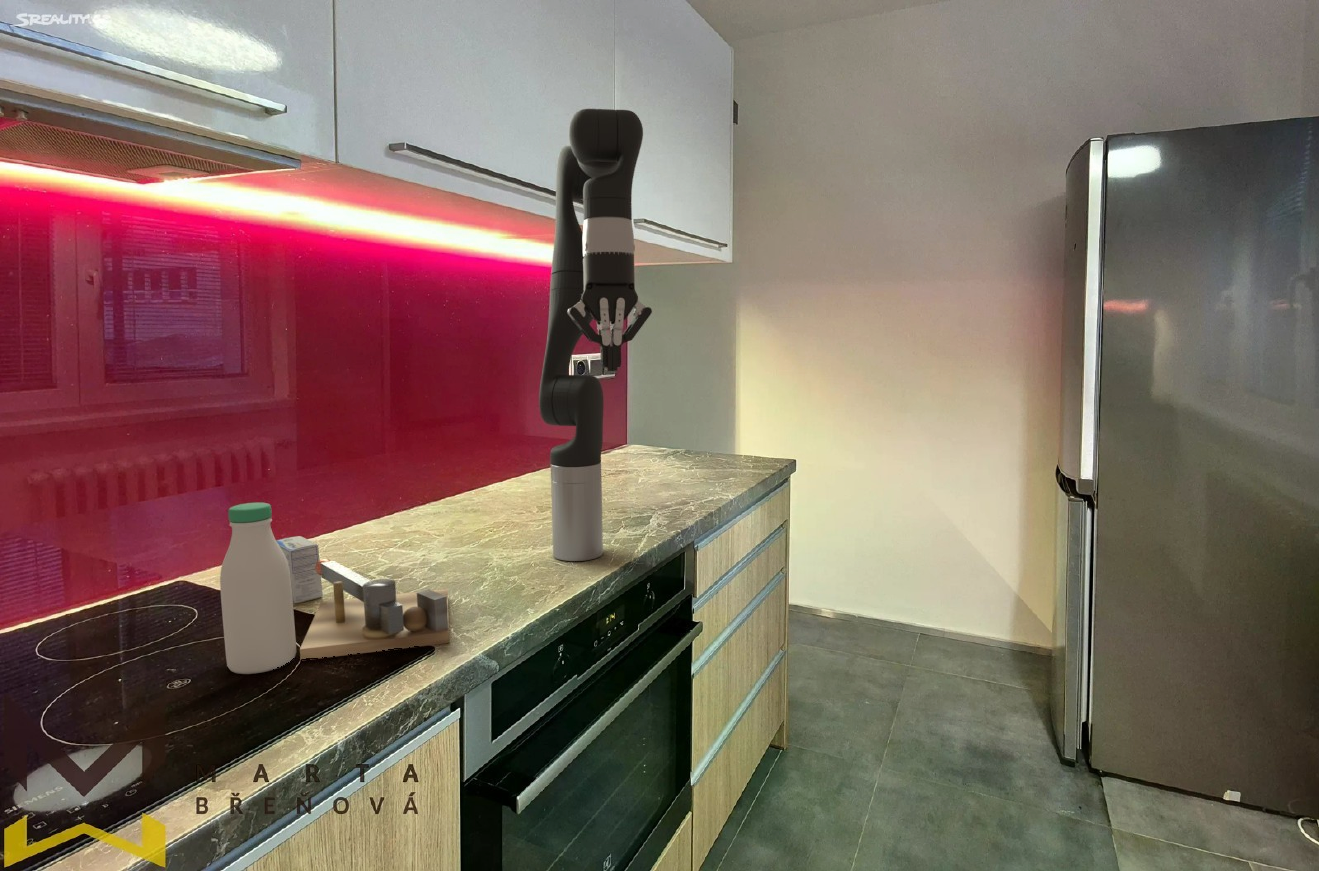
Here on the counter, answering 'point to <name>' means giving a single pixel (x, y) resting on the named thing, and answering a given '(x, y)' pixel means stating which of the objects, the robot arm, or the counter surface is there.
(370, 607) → the lever
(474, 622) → the counter surface
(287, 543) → the medicine box
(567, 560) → the robot arm
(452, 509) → the counter surface
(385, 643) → the base
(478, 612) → the counter surface
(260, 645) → the milk bottle
